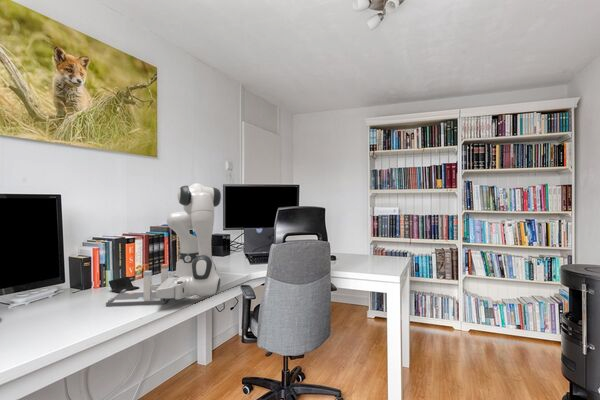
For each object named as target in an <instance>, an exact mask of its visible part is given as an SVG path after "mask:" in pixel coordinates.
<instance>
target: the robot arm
mask: <svg viewBox="0 0 600 400" xmlns="http://www.w3.org/2000/svg"><path fill="white" fill-rule="evenodd" d="M221 200H222V194H221V191H220V189H219V188H216V187H210V186H204V185H203V184H202V183H199V182H197V183H196V182H195V183H192V184H191V185H183V186H181V187H180V188H179V190H178V192H177V201H178V203H179V204H180V205H182V207H183V210H184V211H174V212H171V213H170V214H168V216H167V218H166V223H167V227H168V228H169V229H170V230H172V231H173V232H174V233H175V234H176V235H177V237H178V241H179V253H178V258H179V259H178V260H177V261H176V267H175V273H173V274H172V276H173V277H168V279H166V280H165V281H164V282H163V283H162V284H161V283H158V284H152V286H151V287H150V290H151V291H156V297H157V298H169V299H175V300H181V299H183V298H185V297H192V296H193V297H194V296H197V297H206V296H213V295H215V294H217V293H218V292H219V290H220V286H221V277H220V276H219V275H218V273H217V267H216V265H215V263H214V261H213V253H212V252H213V251H212V247H213V246H212V236H213V230H214V225H215V224H214V223H215V207H218V206H219V205H220V203H221ZM189 230H193V232H194V233H195V235H193V234H192V233H191V232H190V231H189Z"/></svg>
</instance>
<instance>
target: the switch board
mask: <svg viewBox="0 0 600 400" xmlns="http://www.w3.org/2000/svg"><path fill="white" fill-rule="evenodd" d="M169 299H170V298H157V297H156V291H152V299H151V300H146V301H144V289H142V290H133V291H126V289H123V290H122V291H121V293H119V294H118V293H117V294H116V295H115V296H114V297H111V298H110V299H108V300H107V302H106V303H105V307H109V308H110V307H125V306H127V307H129V306H150V305H153V306H154V305H165V304H166V303H167V302H168V300H169Z"/></svg>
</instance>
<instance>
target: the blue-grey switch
mask: <svg viewBox="0 0 600 400" xmlns="http://www.w3.org/2000/svg"><path fill="white" fill-rule="evenodd" d="M142 275H143V290H144V301H146V300H151V299H152V291H151V290H150V287H151V286H152V285H153V284H152V282H153V281H152V278H153V277H152V275H153V270H144V271H143V273H142Z"/></svg>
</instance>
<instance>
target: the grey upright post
mask: <svg viewBox="0 0 600 400" xmlns="http://www.w3.org/2000/svg"><path fill="white" fill-rule="evenodd" d="M160 270H161V271H160V280H161V281H160V284H162V283H163V282H164V281H165V280H166V279H168V278H169V263H163V264H161V265H160Z"/></svg>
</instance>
